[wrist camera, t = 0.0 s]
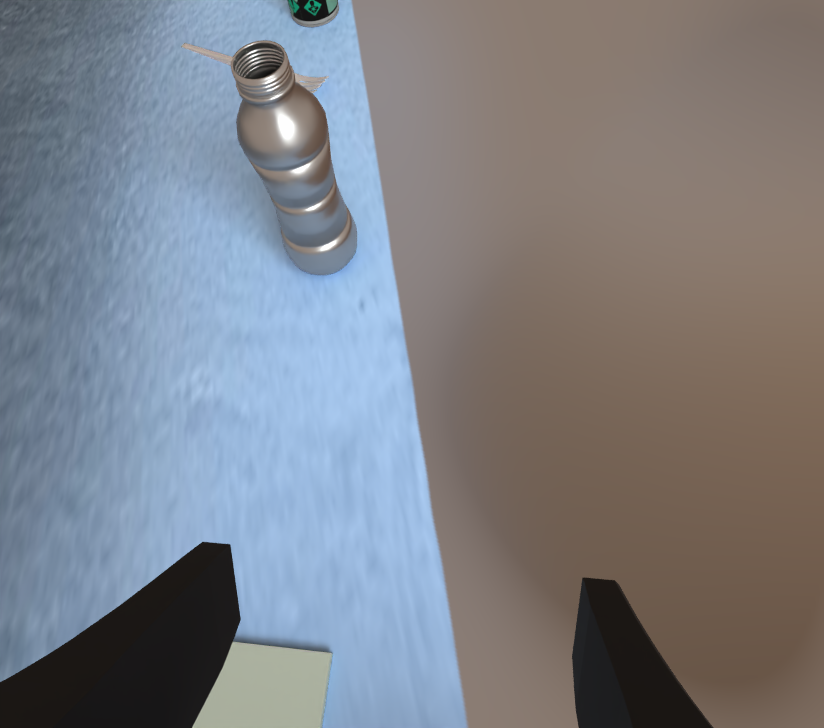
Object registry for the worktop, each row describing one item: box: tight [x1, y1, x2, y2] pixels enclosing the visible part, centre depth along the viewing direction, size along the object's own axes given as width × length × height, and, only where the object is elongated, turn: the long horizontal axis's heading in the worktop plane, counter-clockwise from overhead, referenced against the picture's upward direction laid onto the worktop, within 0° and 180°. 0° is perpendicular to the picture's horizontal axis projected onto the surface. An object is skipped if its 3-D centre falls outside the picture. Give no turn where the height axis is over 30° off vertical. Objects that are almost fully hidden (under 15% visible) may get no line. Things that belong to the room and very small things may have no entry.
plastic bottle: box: [231, 40, 357, 275], centre depth 48 cm, size 6×7×20 cm
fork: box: [181, 43, 329, 93], centre depth 69 cm, size 3×20×2 cm, turn 60°
